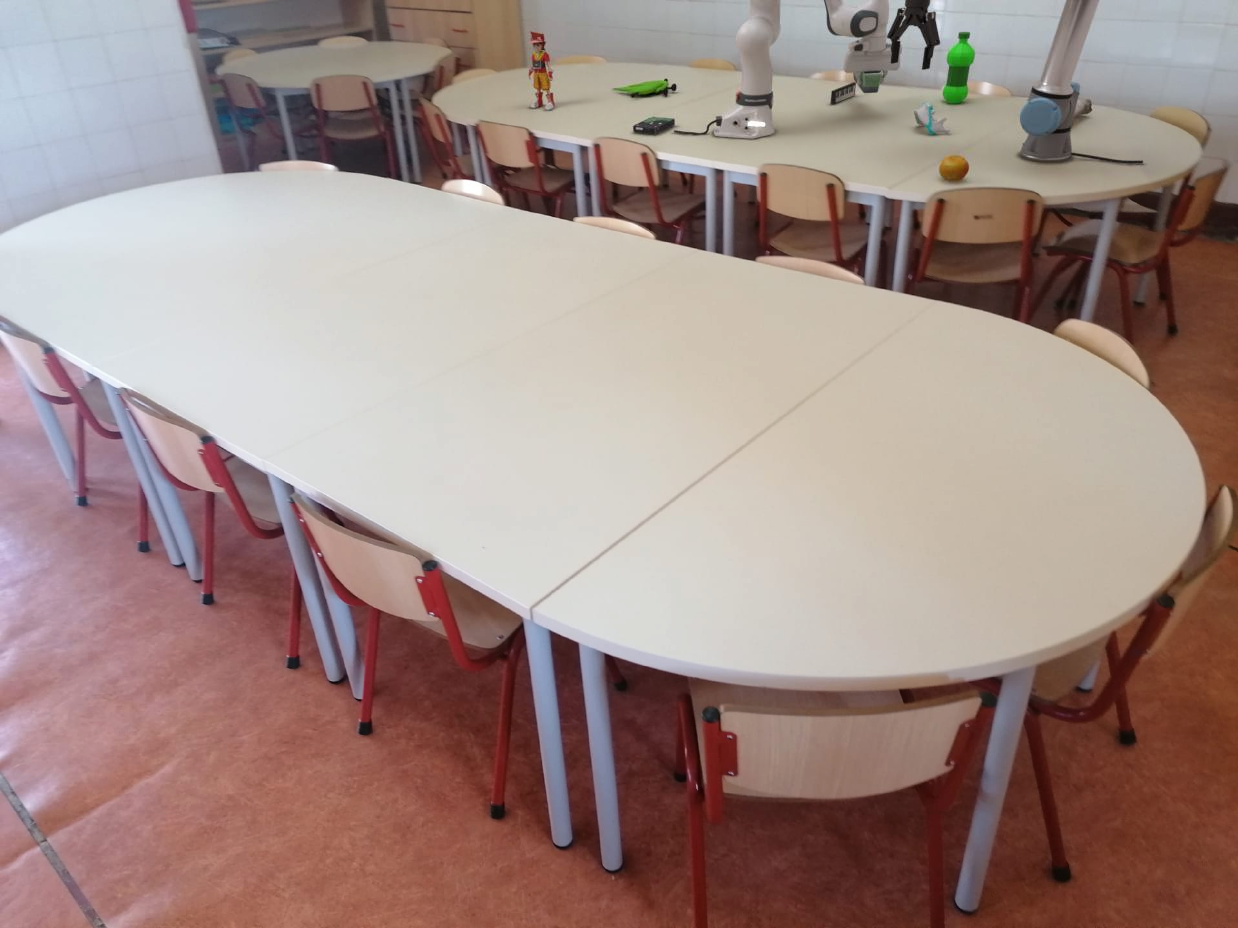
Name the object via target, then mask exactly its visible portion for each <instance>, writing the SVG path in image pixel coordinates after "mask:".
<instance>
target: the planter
mask: <svg viewBox="0 0 1238 928" xmlns="http://www.w3.org/2000/svg"><path fill="white" fill-rule="evenodd" d="M882 76H883V71H872V72H860V74H859V75H858V77H859V79H862V82H861V83H862V85H857V86H858V87H859V89H860V90H861V92H862V93H863V94H876V93H878V92H879V88H880V85H881V84H880V82H881V78H882ZM852 77H853V80H854V82H856V84H857V78H856V76H855V72H854V73H852Z"/></svg>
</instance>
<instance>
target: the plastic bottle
mask: <svg viewBox="0 0 1238 928" xmlns="http://www.w3.org/2000/svg"><path fill="white" fill-rule="evenodd" d="M970 36H971V32H970V31H959V32H958V36H957V39H958V42H957V43H956V44H954V45H953V46H952V47H951V48H950V49H949V50H948V52H947V54H946V63H947V64H948V69H947V70H948V71H947V76H946V77H947V78H946V84H945V85H944V87H943V90H942V97H943V99H944V100H945V101H946V102H947V103H948V104H960V103H961V102H963V101H964V100H966V98H967V96H968V95H969V85H968V79H969V73H970V67H971V65H972V64H973V63H974V61H975V57H976V51H975V49H974V47H972V45H971V44H970V43H969V42H968V41H969V39H970V38H971V37H970Z"/></svg>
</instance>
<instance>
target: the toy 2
mask: <svg viewBox="0 0 1238 928" xmlns="http://www.w3.org/2000/svg"><path fill="white" fill-rule="evenodd" d="M669 85H670V83H669V79H668V78H664V79H663V80H649V81H644V82H640V83H634V84H629V85H627V86H621V87H613V88H612V89H613V90H616V91H619V92H623V93H627V94H628V93H629V94H631V95H630V96H631V98H632V99H634V98H636V96H637V95H650V94H652V93H654V94H658V93H662V95H663V96H665V97H667V96H668V95H669V90H671V91H672V92H676V91H677V84H676V83H672V84H671V86H669Z"/></svg>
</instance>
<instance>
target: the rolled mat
mask: <svg viewBox="0 0 1238 928" xmlns="http://www.w3.org/2000/svg"><path fill="white" fill-rule="evenodd" d="M1092 111H1093V108H1092V100H1091V99H1090V98H1081V97H1080V98H1079V97H1078V100H1077V105H1076V109H1075V113H1074V118H1073V121H1074V120H1075V119H1077V117H1079V116H1084V115H1088V114H1090V113H1091V112H1092Z"/></svg>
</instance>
